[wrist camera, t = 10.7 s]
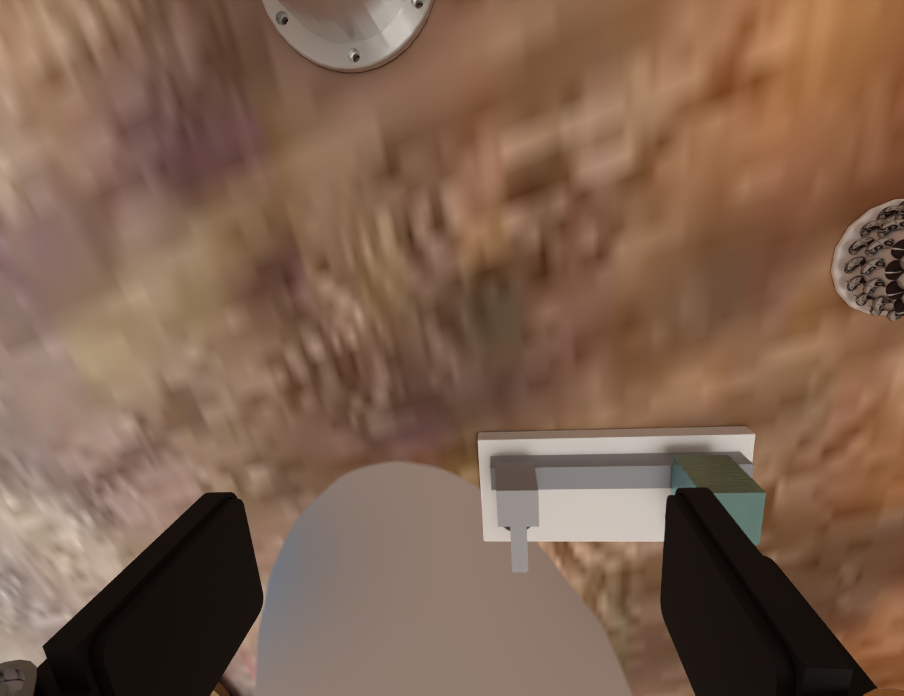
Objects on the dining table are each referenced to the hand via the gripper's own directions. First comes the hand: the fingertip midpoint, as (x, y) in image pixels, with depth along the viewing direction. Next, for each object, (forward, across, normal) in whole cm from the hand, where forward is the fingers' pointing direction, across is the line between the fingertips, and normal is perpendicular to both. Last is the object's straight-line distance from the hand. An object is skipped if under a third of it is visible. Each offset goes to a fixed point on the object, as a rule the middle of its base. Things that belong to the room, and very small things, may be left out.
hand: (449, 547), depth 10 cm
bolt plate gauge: (+28, -10, +16) cm, 34 cm away
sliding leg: (+26, -16, +15) cm, 34 cm away
